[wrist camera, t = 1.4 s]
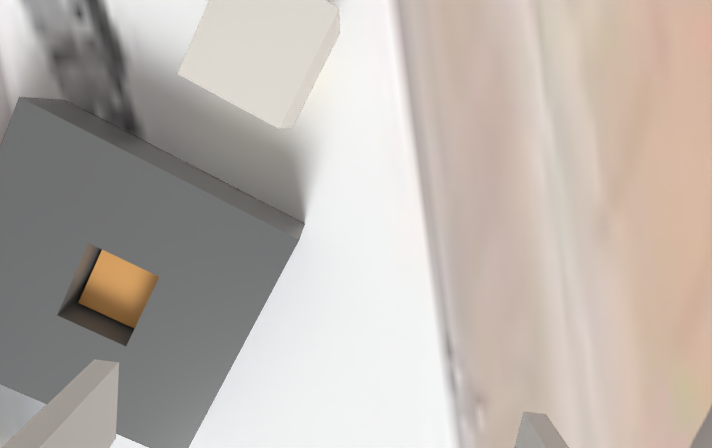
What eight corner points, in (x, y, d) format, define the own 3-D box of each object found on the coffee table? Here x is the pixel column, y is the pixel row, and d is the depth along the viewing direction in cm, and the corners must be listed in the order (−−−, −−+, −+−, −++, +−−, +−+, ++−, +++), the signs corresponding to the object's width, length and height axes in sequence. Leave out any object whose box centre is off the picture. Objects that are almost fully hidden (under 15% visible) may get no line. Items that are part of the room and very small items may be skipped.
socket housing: (-25, 321, 38) (-78, 351, 33) (64, 100, 35) (19, 97, 30) (200, 420, 41) (181, 461, 36) (304, 223, 37) (299, 239, 32)
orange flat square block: (81, 300, 35) (78, 302, 35) (109, 239, 34) (105, 241, 34) (138, 326, 36) (135, 329, 35) (166, 267, 35) (164, 269, 34)
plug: (225, 87, 35) (176, 74, 25) (276, -23, 33) (247, -86, 23) (296, 126, 35) (278, 129, 25) (350, 20, 34) (353, -22, 24)
